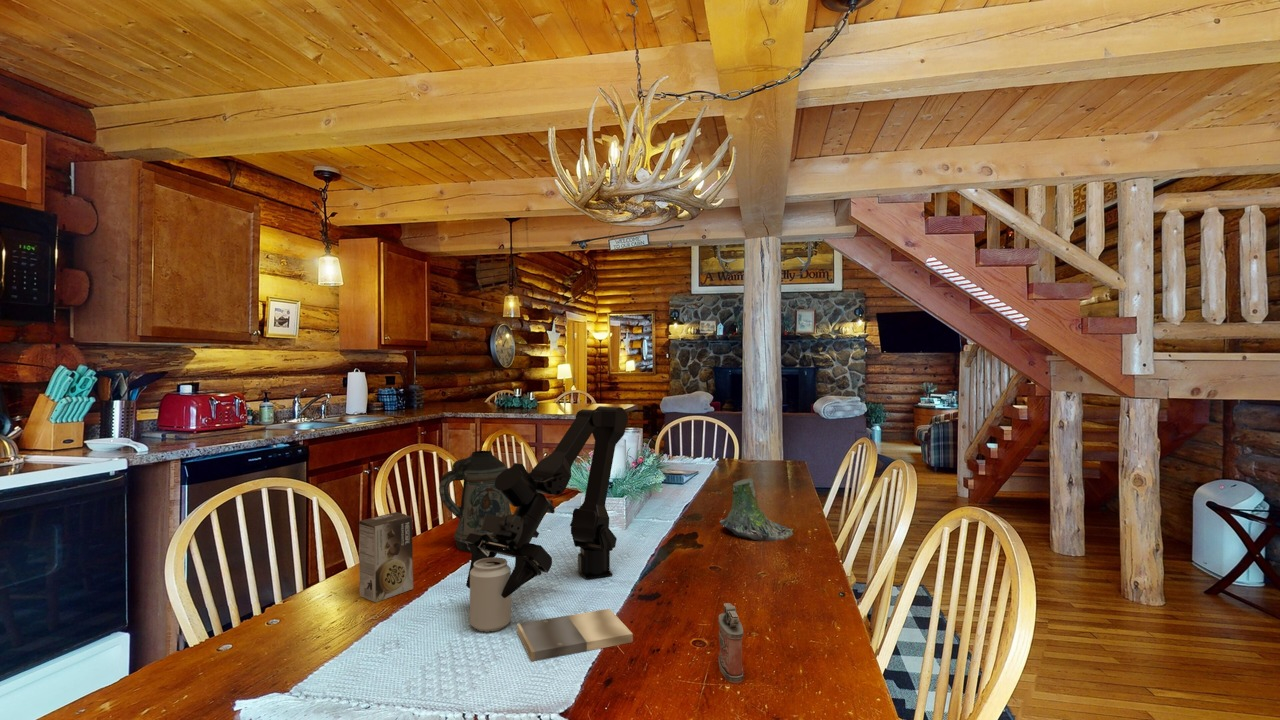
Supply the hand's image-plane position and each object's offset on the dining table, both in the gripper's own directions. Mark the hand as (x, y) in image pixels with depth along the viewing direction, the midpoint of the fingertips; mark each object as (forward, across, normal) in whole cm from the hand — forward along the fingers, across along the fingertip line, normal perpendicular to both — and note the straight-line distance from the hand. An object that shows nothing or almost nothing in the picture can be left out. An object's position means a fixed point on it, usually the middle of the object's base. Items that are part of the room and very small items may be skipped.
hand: (485, 591), depth 116 cm
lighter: (-2, +45, +12) cm, 47 cm away
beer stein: (-21, -39, +30) cm, 54 cm away
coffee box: (+4, -31, +6) cm, 32 cm away
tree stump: (-56, +19, +66) cm, 89 cm away
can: (+4, 0, +6) cm, 7 cm away
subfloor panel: (+1, +16, +9) cm, 19 cm away
